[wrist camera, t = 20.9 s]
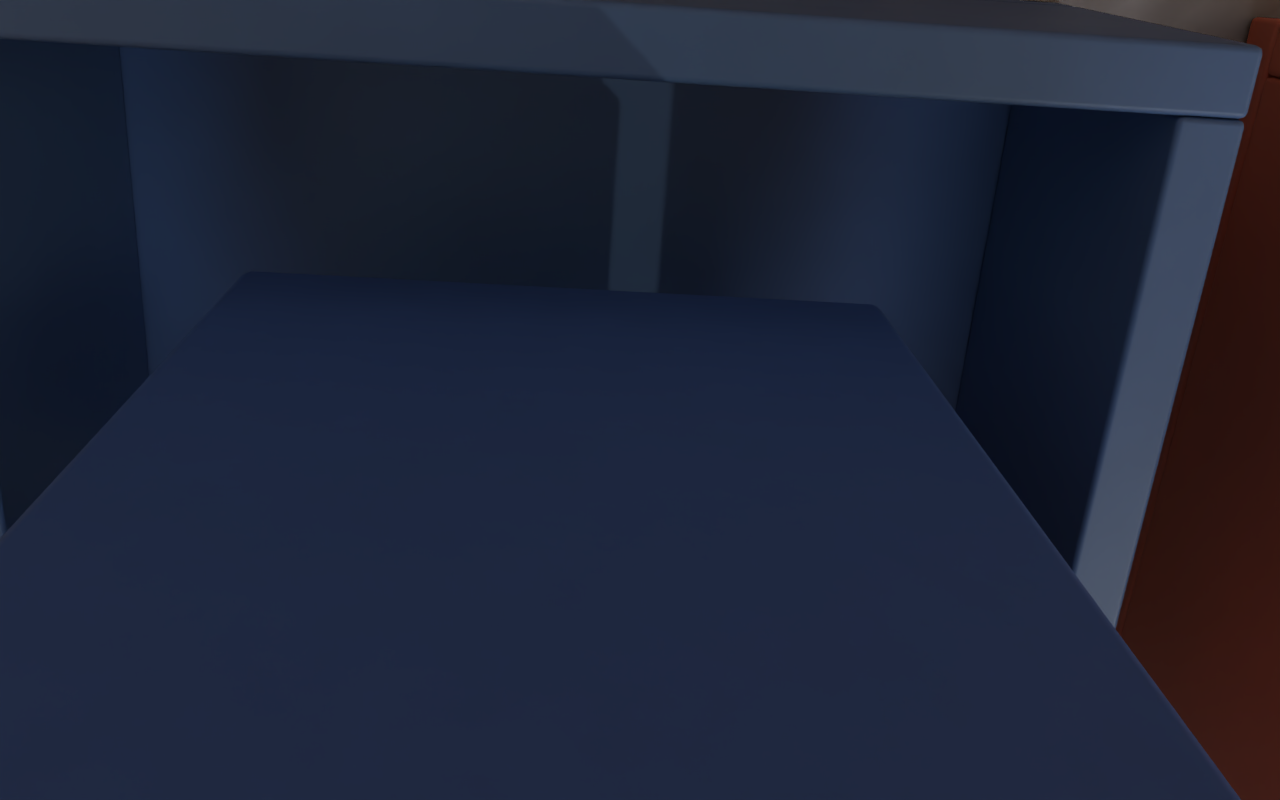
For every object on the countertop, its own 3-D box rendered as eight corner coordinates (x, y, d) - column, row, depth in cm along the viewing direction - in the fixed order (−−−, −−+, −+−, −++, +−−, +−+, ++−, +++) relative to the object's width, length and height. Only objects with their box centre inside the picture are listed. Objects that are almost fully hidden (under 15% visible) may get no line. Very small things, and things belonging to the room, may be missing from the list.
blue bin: (74, -68, 13) (-163, -52, 9) (1061, 2, 14) (1266, 47, 10) (158, 755, 18) (22, 1027, 13) (913, 775, 18) (1012, 1040, 14)
